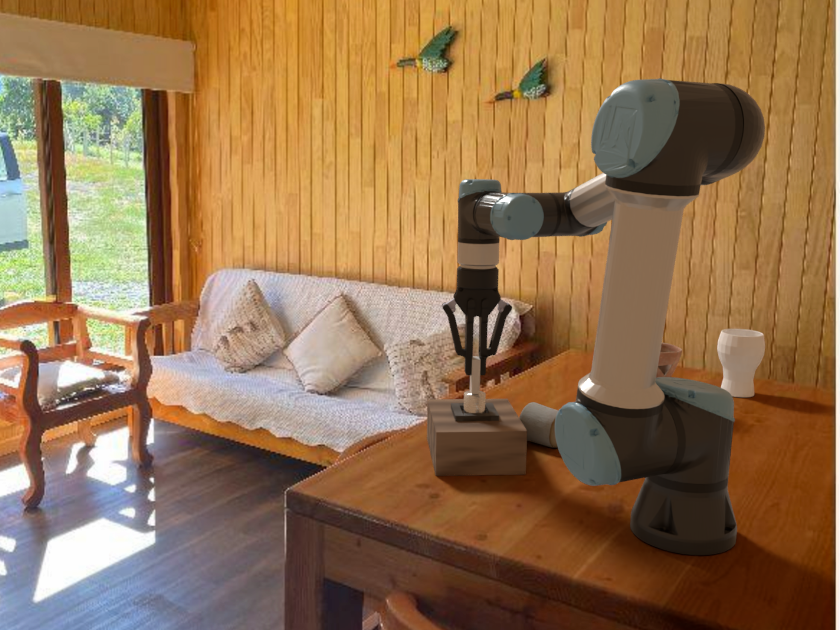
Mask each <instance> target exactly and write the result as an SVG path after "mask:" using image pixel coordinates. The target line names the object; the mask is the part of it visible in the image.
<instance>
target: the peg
mask: <svg viewBox="0 0 840 630" xmlns="http://www.w3.org/2000/svg"><path fill="white" fill-rule="evenodd" d="M463 399H464V413H485V399H486V392H485V391H483V390H480V394H471V392H470V390H467V391H464V393H463Z"/></svg>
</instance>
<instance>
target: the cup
mask: <svg viewBox="0 0 840 630" xmlns="http://www.w3.org/2000/svg"><path fill="white" fill-rule="evenodd" d="M716 348H717V349H716V350H717V354H718V359H719V361H720V363H721V366H722V373H723V376H722V377H723V378H722V381H721V384H720V385H721V386H720V388H722V389H724V390H726V391H728V392H729V393H730V394H731V396H732V397H733V398H734V397H735V398H751V397H754V396H755V384H754V378H755V373H756V370H757V369H758V367H759V365H760V364H761V363H762V360H763V359H764V356H765V353H766V352H765V351H766V350H765V349H766V340H765V335H764V333H763V332H760V331H758V330H753V329H745V328H725V329H721V331H720V333H719V336H718V340H717V347H716Z"/></svg>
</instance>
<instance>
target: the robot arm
mask: <svg viewBox="0 0 840 630" xmlns="http://www.w3.org/2000/svg"><path fill="white" fill-rule="evenodd" d="M764 118H765V117H764V114H763V112H762V109H761V108H760V106H759V105H758V103H757V101H756V99H754V98H753V97H752V96H751V95H750V94H749V92H746V91H745V90H743V89H741V88H739V87H737V86H735V85H733V84H728V83H721V82H720V83H719V82H711V83H710V82H699V81H697V82H696V81H687V80H686V81H684V80H673V79H672V80H670V79H664V78H650V79H648V78H647V79H634V80H630V81H627V82H626V81H625V82H624V83H622V84H620V85H619V86H617V87H615V89H613V91H612V92H611V94H610V95H608V96H607V97H606V98H605V99H604V101H602V104H601V105H600V107H599V110H598V112H597V114H596V116H595V118H594V122H593V126H592V130H591V138H590V139H591V140H590V143H591V144H590V145H591V146H590V147H591V148H590V149H591V153H592V154H594V157H593V160H594V161H593V162H594V163H595V165H596V167H597V168H598V170H599V171H600V172H602V173H600V174H598V175H596V176H594V177H592V178H591V179H588V180H587V181H585V182H583V183H582V184H579V185H578V186H576V187H574V188H572V189H570V190H568V191H564V192H561V191H560V192H559V191H558V192H503V191H502V185H501V182H500V181H499V180H497V179H489V178H488V179H483V178H481V179H480V178H475V179H473V178H469V179H467V178H466V179H463V180H461V182H460V183H459V187H458V188H459V189H458V198H457V254H456V255H457V257H456V260H457V261H456V263H458V264H459V266H458V267H457V268H456V289H455V292H454V293H453V298H452V299H450V300H448V301H447V302H443V303H441V308H442V310H443V311H444V313H445V314H446V316H447V321H448V324H449V330H450V334H451V339H452V343H453V348H454V350H455V353H456V355H457V356H459V357H460V356H461V357H463V358H464V373H465V375H466V376H469V391H470V392H471V394H480V391H481V386H480V385H481V376H485V375H486V373H487V359H488V358H490V357H491V356H496V355H497V352H498V349H499V346H500V342H501V338H502V334H503V330H504V328H505V323H506V319H507V317H508V316H509V314H510V313H511V311H512V310H513V306H512V304H510V303H509V302H507V301H504V300H503V299H502V298H501V294H500V292H499V274H500V273H499V268H498V266H496V265H499V263H500V239H501V238H504V239H506V240H508V241H509V240H510V241H526V240H529V239H531V238H546V237H547V238H549V237H579V238H580V237H581V238H582V237H587V236H593V235H598V234H600V233H601V232H602V231H604V227H606V226H607V224H608V222H610V221H611V226H610V233H609V242H608V248H607V254H606V255H607V256H606V264H605V270H604V277H603V284H602V291H601V299H600V305H599V313H598V320H597V326H596V327H597V328H596V332H595V333H596V335H595V341H594V349H593V356H592V362H591V363H592V364H591V371H590V372H589V373H587V374H586V375H584V376H582V377H581V378H579V381H578V383H577V384H578V385H577V390H576V395H575V401H569V402H567V403H565V404H562V406H561V408H559V409H558V413H557V415H556V419H555V437H556V442H557V446H558V447H557V449H558V452H559V455H560V456H561V458H562V461H563V463H564V465H565V467H566V468H567V470H568V471H569V472H570V474H571V475H573V477H574V478H575V479H577V480H578V481H579V482H581V483H583V484H585V485H588V486H591V487H596V486H597V487H598V486H604V485H609V486H615V485H617V484H618V483H623V482H625V483H626V482H628V481H634V480H641V479H644V480H643V483H642V485H641V487H640V489H639V492H638V495H637V497H636V499H635V501H634V503H633V506H632V509H631V511H630V525H629V526H630V530H631V532H632V534H633V535H634V536H636V537H637V538H638V539H639V540H641V541H642V542H645V543H646V544H647V545H651V546H652V547H655V548H658V549H660V550H664V551H665V552H670V553H675V554H682V555H689V556H708V555H709V556H710V555H715V554H721V553H724V552H727V551H729V550H731V549H732V548H733V547H735V545H736V542H737V533H738V524H737V521H736V516H735V513H734V509H733V506H732V501H731V498H730V497H731V496H730V494H729V487H728V486H729V477H730V476H729V474H730V467H731V454H732V444H733V443H732V442H733V433H734V424H735V421H736V419H735V417H734V414H735V401H734V397H733V396H731V394H730V393H729V392H728V391H726V390H724V389H722V388H721V386H717V385H715V384H711V383H707V382H703V381H699V380H695V379H690V378H689V379H688V378H682V377H674V376H671V377H658V378H656V374H657V368H658V362H659V356H660V350H661V344H662V343H663V337H664V330H665V326H666V325H665V324H666V318H667V313H668V307H669V302H670V295H671V289H672V283H673V276H674V269H675V265H676V258H677V252H678V247H679V242H680V241H679V240H680V234H681V229H682V223H683V217H684V211H685V208H686V207H687V205H689V204H690V203H692V202H693V201H695V200H696V199H697V198H699V196H700V192H701V186H709V185H711V184H714V183H716V182H718V181H721V180H724V179H726V178H728V177H731V176H733V175H736V174H737V173H739V172H741V171H742V170H744V169H745V168H746V167H747V166H749V165H750V164H751V163H752V162H753V161H754V159H755V158H756V157H757V156H758V155H759V152H760V150H761V149H762V146H763V143H764V139H765V132H766V126H765V119H764ZM456 306H458V308H459V309H460V311H461V312H462V313H463V315H465V317H464V320H465V321H464V324H465V325H464V348H463V345H462V341H461V336H460V331H459V329H458V328H459V327H458V325H457V319H456V316H455V312H456V311H457V308H456ZM496 307H497V311H498V313H497V316H496V320H495V322H494V326H493V330H492V333H491V337H490V341H489V345H488V329H489V328H488V326H489V325H488V323H489V316H490V314H492V312H493V311H494V310H495V308H496ZM476 317H478V355H475V356H474V355H473V352H474V324H475V323H474V322H475V318H476Z"/></svg>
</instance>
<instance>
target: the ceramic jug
mask: <svg viewBox="0 0 840 630" xmlns="http://www.w3.org/2000/svg"><path fill="white" fill-rule="evenodd" d="M682 352H683V349H682V348H681V347H679V346H677V345H674V344H671V343H667V342H662V344H661V350H660V356H659V362H658V368H657V374H656V378H658V377H673V374H674V373H675V370H676V369H677V366H678V364H679V362H680V360H681V356H682Z"/></svg>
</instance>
